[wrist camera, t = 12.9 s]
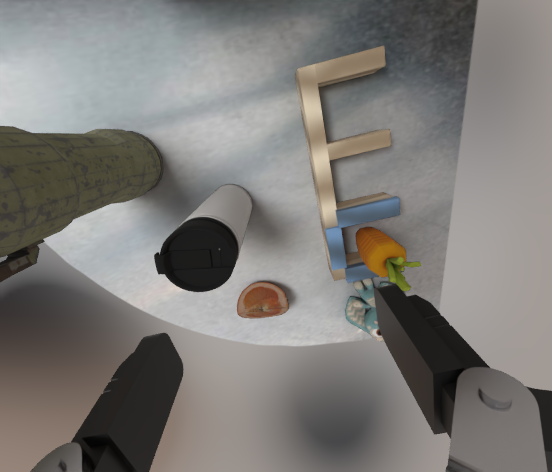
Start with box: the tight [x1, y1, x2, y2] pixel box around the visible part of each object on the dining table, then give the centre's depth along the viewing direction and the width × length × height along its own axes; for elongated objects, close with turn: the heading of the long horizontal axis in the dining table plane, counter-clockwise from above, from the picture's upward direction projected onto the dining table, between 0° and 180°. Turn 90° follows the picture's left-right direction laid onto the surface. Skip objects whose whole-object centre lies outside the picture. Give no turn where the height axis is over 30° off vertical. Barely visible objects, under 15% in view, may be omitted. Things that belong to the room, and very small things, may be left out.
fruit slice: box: [237, 282, 289, 318], centre depth 44 cm, size 8×7×5 cm
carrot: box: [356, 227, 421, 291], centre depth 35 cm, size 5×5×15 cm
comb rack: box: [295, 46, 404, 283], centre depth 36 cm, size 29×10×5 cm, turn 13°
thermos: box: [0, 126, 163, 282], centre depth 21 cm, size 9×12×35 cm
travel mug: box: [154, 184, 252, 292], centre depth 31 cm, size 6×7×20 cm
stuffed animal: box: [345, 278, 404, 342], centre depth 44 cm, size 11×7×12 cm
